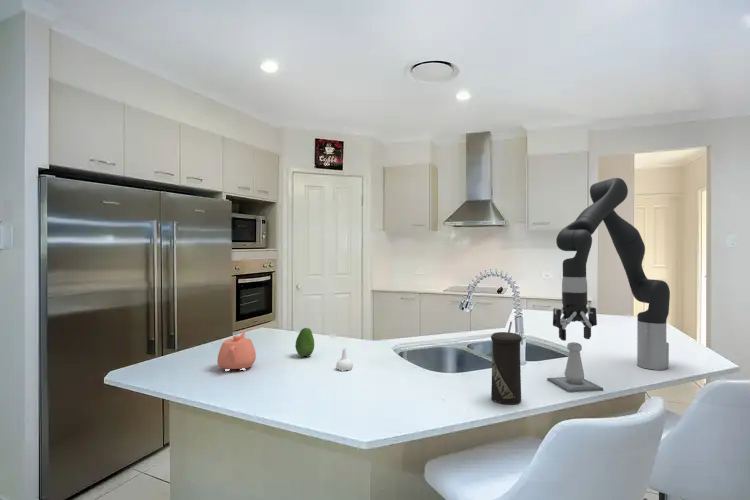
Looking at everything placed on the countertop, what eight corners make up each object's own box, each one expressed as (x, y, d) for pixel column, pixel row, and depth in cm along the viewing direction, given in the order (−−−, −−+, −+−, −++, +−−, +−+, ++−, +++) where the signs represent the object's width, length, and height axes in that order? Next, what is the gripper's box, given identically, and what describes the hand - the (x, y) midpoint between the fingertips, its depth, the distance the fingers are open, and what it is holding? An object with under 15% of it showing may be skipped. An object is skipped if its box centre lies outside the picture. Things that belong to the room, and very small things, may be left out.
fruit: (318, 355, 174) (318, 327, 174) (305, 360, 168) (305, 330, 167) (304, 353, 178) (304, 325, 178) (291, 357, 172) (291, 328, 172)
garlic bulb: (356, 370, 155) (357, 349, 156) (343, 372, 151) (345, 350, 151) (344, 367, 160) (345, 346, 160) (332, 369, 155) (333, 347, 156)
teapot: (260, 360, 168) (260, 330, 168) (249, 375, 148) (249, 341, 148) (226, 360, 167) (226, 330, 167) (211, 376, 147) (211, 342, 147)
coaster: (579, 378, 144) (579, 376, 144) (603, 390, 132) (603, 387, 132) (547, 380, 142) (547, 377, 142) (568, 392, 130) (568, 389, 130)
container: (486, 395, 128) (486, 330, 128) (514, 394, 129) (514, 329, 129) (497, 405, 119) (497, 336, 119) (527, 404, 120) (527, 335, 120)
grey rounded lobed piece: (586, 385, 134) (586, 345, 134) (567, 384, 135) (567, 344, 135) (580, 380, 139) (581, 341, 139) (562, 379, 141) (562, 340, 140)
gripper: (586, 288, 141) (587, 336, 141) (548, 289, 139) (548, 338, 139) (601, 290, 134) (602, 341, 134) (561, 292, 132) (561, 343, 132)
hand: (574, 339), depth 137 cm, fingers open, 8 cm apart
